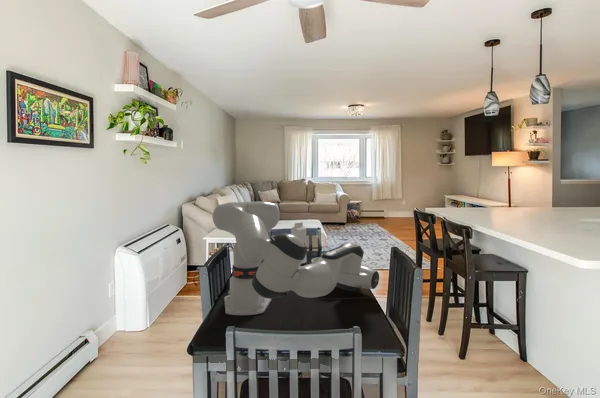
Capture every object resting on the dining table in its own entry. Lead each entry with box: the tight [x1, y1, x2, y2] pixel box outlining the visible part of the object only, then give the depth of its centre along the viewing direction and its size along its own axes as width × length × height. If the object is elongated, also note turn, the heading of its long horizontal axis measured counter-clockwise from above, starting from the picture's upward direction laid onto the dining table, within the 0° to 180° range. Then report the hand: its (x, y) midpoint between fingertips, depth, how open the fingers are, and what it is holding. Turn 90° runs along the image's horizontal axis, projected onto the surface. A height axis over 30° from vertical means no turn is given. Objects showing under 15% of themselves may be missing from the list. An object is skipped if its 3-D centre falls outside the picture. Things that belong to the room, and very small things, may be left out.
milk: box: [290, 221, 307, 265], centre depth 194 cm, size 6×6×22 cm
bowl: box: [310, 256, 321, 264], centre depth 181 cm, size 12×12×5 cm
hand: (323, 264), depth 164 cm, fingers open, 8 cm apart
